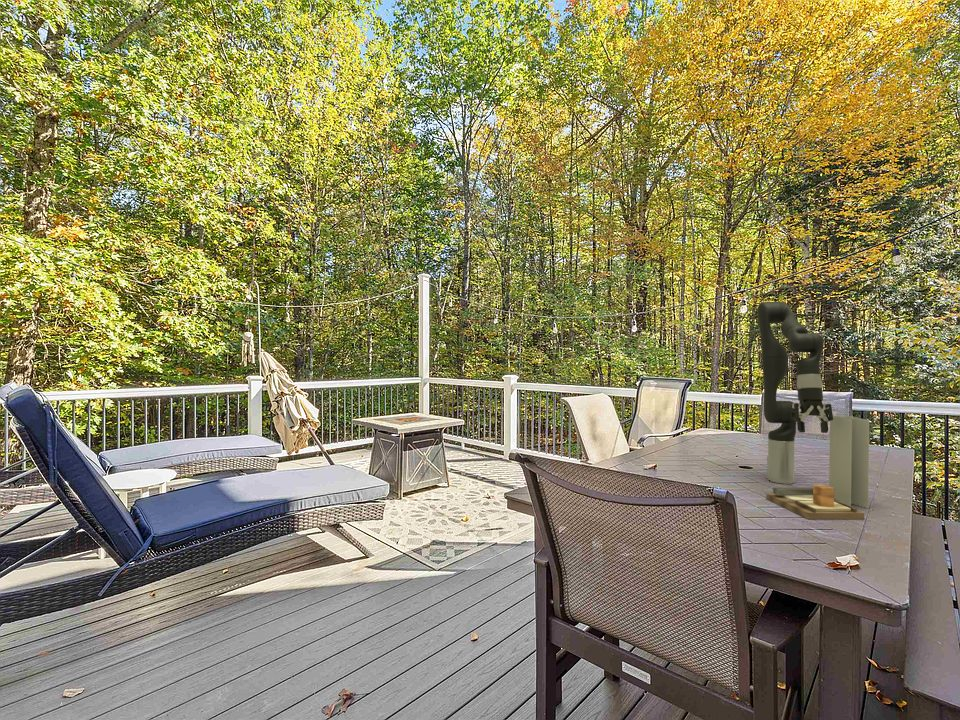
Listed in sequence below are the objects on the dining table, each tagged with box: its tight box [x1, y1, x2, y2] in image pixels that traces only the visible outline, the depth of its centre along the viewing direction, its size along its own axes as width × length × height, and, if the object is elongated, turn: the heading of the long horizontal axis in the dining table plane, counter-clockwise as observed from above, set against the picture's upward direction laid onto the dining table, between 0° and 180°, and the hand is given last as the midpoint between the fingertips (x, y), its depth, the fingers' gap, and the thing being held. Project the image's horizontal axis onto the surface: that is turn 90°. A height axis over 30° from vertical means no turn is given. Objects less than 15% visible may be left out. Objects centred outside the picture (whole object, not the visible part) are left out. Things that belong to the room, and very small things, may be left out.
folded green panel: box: [828, 415, 870, 509], centre depth 172 cm, size 14×6×30 cm, turn 168°
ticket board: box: [765, 486, 865, 520], centre depth 165 cm, size 22×18×5 cm
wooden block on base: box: [799, 484, 851, 511], centre depth 159 cm, size 8×12×7 cm, turn 91°
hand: (813, 432), depth 173 cm, fingers open, 8 cm apart
